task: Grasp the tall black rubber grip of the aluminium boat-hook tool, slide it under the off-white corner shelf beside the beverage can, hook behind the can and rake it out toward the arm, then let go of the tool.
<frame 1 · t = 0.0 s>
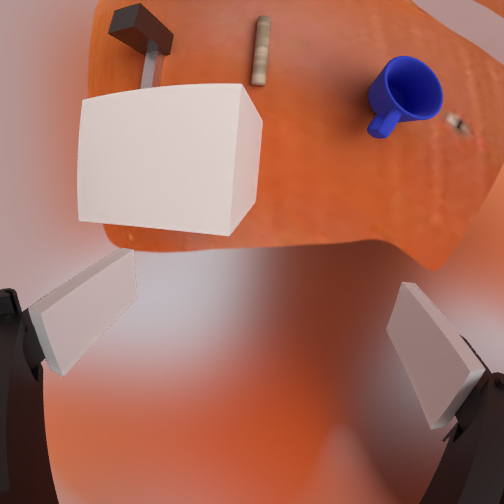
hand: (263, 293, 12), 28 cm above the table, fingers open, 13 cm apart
corner shelf: (207, 159, 38), on the table
mug: (380, 110, 33), on the table
boat hook tool: (160, 46, 33), on the table
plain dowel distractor: (262, 51, 32), on the table
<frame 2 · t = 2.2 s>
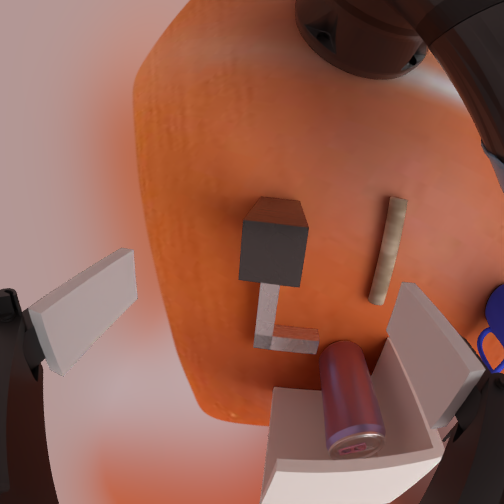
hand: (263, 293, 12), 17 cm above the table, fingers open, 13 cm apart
corner shelf: (332, 369, 34), on the table
mug: (489, 311, 29), on the table
boat hook tool: (278, 217, 28), on the table
beverage can: (340, 355, 33), on the table
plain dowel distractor: (380, 251, 27), point 1 cm above the table, tilted 95°
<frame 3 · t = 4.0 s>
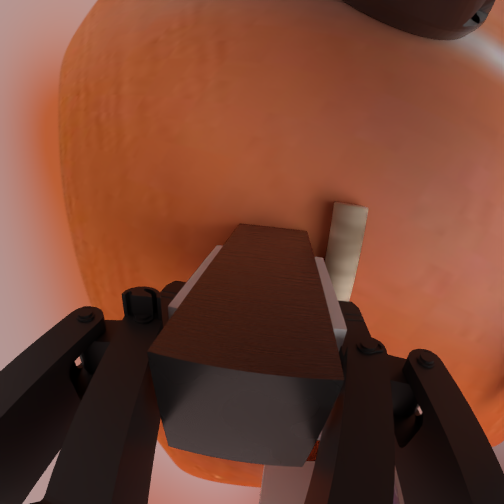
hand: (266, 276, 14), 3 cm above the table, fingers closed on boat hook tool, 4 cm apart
corner shelf: (341, 443, 22), on the table
boat hook tool: (269, 259, 17), on the table, touching gripper
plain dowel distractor: (348, 303, 16), point 1 cm above the table, tilted 101°
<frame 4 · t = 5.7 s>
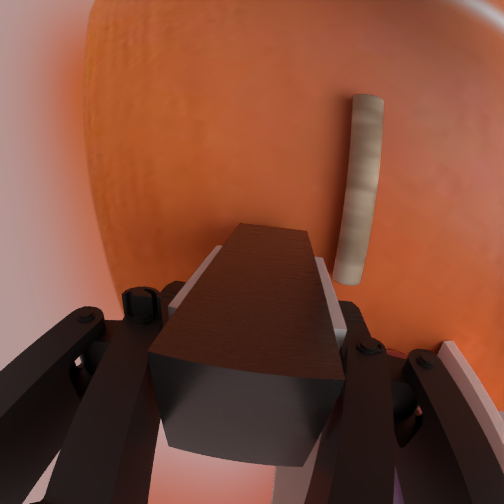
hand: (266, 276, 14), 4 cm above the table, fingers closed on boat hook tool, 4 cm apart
corner shelf: (365, 390, 22), on the table
boat hook tool: (269, 258, 17), point 2 cm above the table, touching gripper
beverage can: (378, 370, 21), on the table
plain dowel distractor: (372, 191, 16), on the table, tilted 64°
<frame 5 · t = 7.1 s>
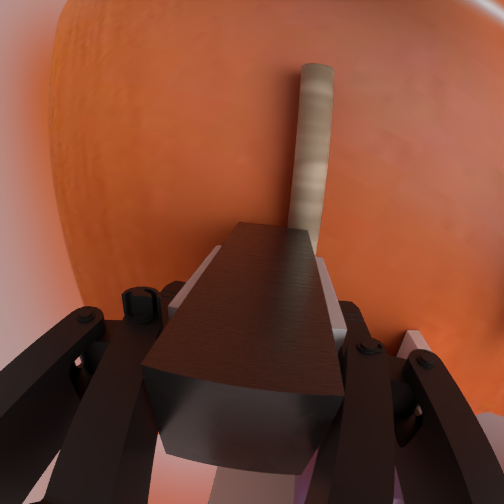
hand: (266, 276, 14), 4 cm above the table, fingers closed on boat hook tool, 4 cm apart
corner shelf: (319, 381, 22), on the table
boat hook tool: (269, 258, 17), point 2 cm above the table, touching gripper, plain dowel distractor
beverage can: (331, 359, 21), on the table
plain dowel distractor: (304, 161, 16), on the table, tilted 18°, touching boat hook tool
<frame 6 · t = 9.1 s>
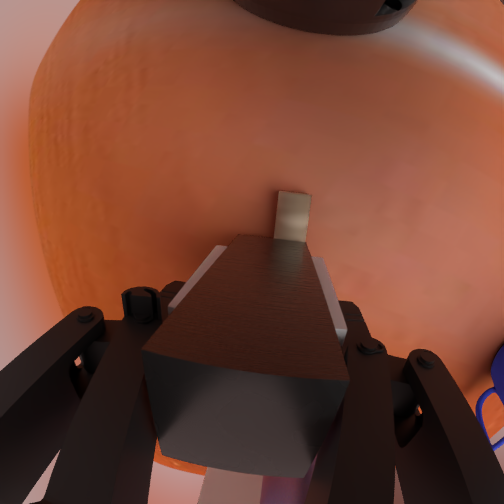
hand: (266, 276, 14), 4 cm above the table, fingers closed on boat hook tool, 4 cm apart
corner shelf: (281, 437, 24), on the table
mug: (496, 364, 19), on the table
boat hook tool: (268, 270, 17), point 2 cm above the table, touching gripper
beverage can: (307, 375, 21), on the table
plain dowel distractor: (269, 280, 19), on the table, tilted 64°
when the fingers open (4 cm above the table, at t = 9.6 s): boat hook tool drops 1 cm, resting on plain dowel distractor.
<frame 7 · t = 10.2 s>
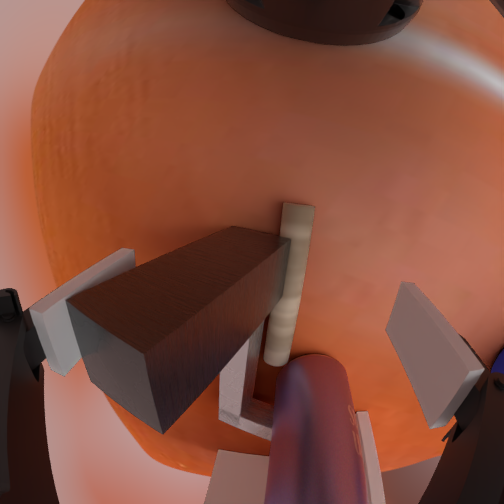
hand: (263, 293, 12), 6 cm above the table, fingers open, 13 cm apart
corner shelf: (285, 440, 25), on the table
mug: (496, 367, 20), on the table
boat hook tool: (257, 261, 18), point 1 cm above the table, tilted 18°, touching gripper, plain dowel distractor
beverage can: (311, 374, 21), on the table
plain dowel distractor: (283, 285, 20), on the table, tilted 15°, touching boat hook tool
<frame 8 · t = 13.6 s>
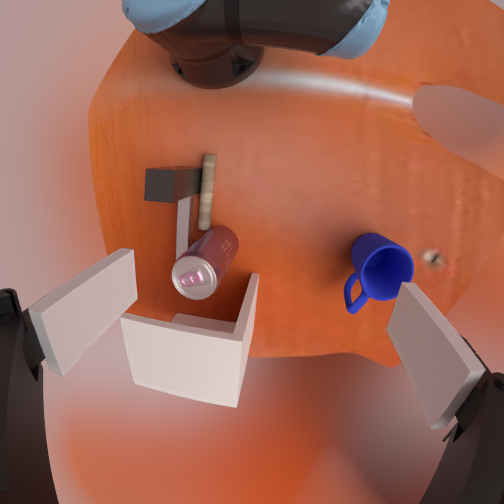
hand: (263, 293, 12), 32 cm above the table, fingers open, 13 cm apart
corner shelf: (214, 298, 49), on the table
mug: (361, 259, 44), on the table
boat hook tool: (190, 179, 43), on the table
beverage can: (221, 242, 46), on the table
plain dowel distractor: (207, 191, 43), on the table, tilted 13°
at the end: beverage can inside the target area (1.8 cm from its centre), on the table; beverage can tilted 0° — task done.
